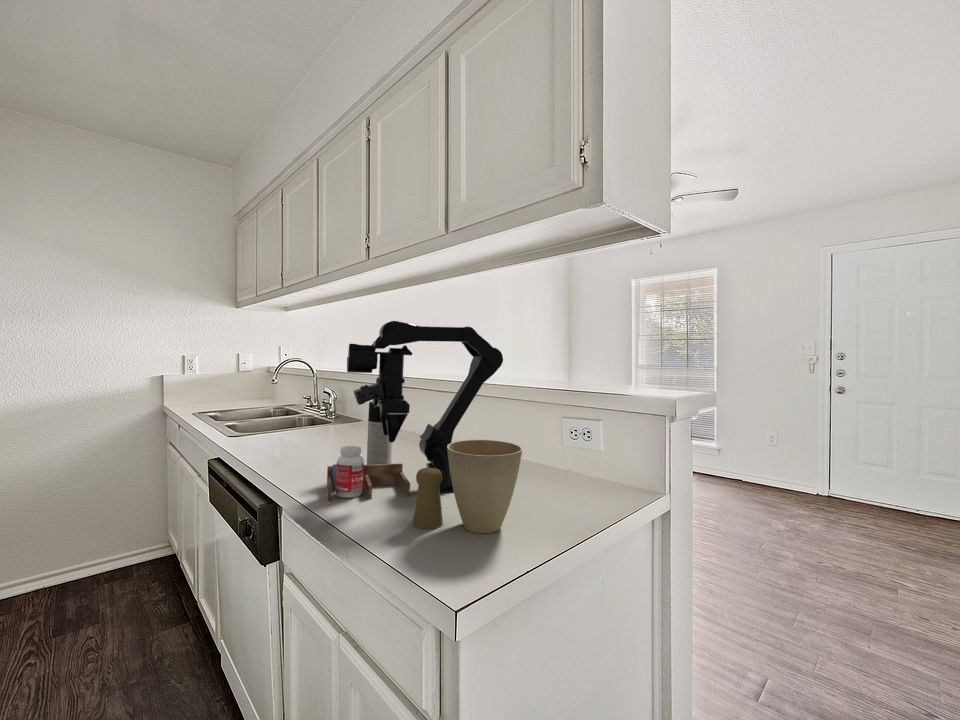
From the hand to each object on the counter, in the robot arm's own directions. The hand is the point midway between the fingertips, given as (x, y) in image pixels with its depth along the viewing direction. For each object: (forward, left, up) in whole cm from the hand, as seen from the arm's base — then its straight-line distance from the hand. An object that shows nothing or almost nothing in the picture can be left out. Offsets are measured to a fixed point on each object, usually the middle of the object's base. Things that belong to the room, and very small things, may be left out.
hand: (388, 438), depth 111 cm
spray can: (0, -16, -13) cm, 21 cm away
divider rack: (+4, -2, -13) cm, 14 cm away
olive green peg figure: (-5, +22, -13) cm, 26 cm away
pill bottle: (+9, 0, -13) cm, 16 cm away
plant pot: (-15, +26, -13) cm, 33 cm away
